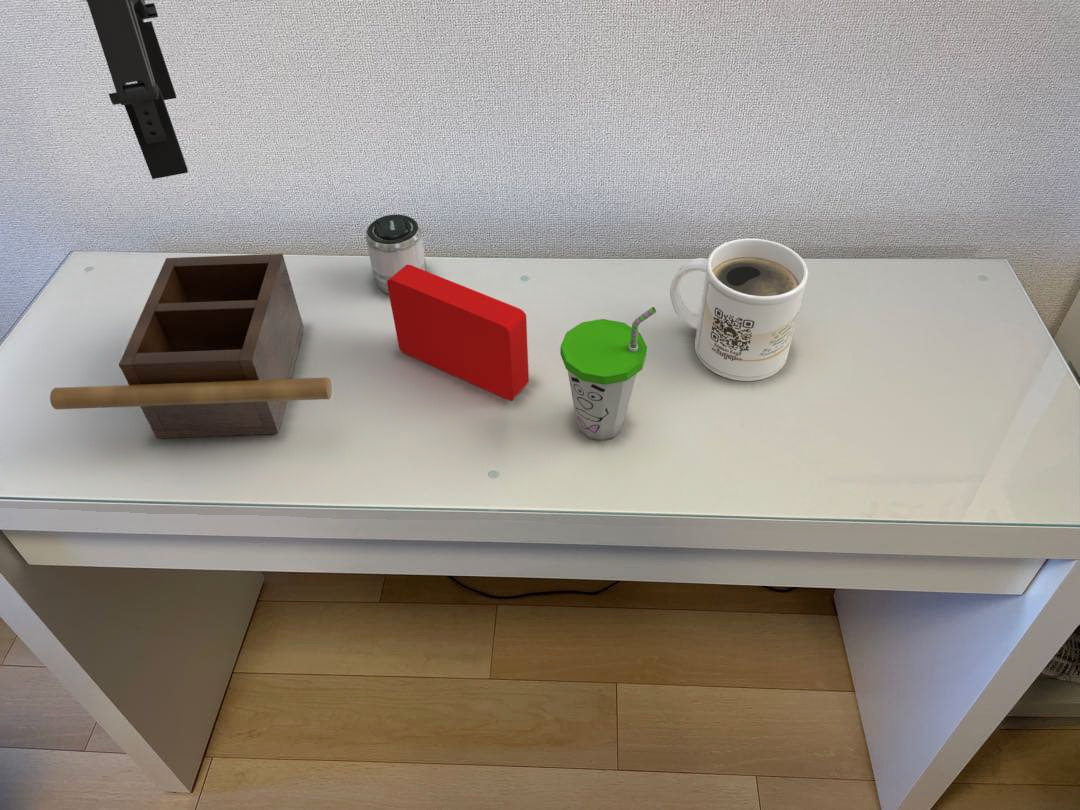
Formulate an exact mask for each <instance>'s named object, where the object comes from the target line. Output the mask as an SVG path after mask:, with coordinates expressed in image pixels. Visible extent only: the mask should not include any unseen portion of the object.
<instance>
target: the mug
mask: <svg viewBox="0 0 1080 810" xmlns="http://www.w3.org/2000/svg"><path fill="white" fill-rule="evenodd" d="M692 272H702V273H705V274H704V279H703V285H702V293H701V299H700V307H699V314H698V315H697V314H696V313H694V312H693V311H691V310H690V308H688V306H687V305H686V304H685V301H684V300H683V298H682V295H681V282H682V278H683V277H684V276H686V275H687V274H689V273H692ZM808 279H809V270H808V267H807V264H806V262H805V260H804V259H803V257H801V255H799V253H797V252H796V251H794V250H793V249H791V248H790V247H789V246H786V245H784V244H782V243H779V242H776V241H773V240H769V239H762V238H754V237H753V238H752V237H751V238H748V237H747V238H738V239H733V240H729V241H727V242H724V243H722V244H719V246H717V247H716V248H714V249H713V251H711V252H710V254H709V256H708V258H704V257H698V258H693V259H690V260H688V261H686V262H685V263H683V264H682V265H681V267H679V269H678V271H677V272H676V273H675V275H673V278H672V280H671V283H670V287H669V299H670V304H671V306H672V309H673V311H674V313H675V314H676V316H677V317H678V318H679V319H680V320H681V321H682V322H683V323H684V324H685V325H686V326H688V327H690V328H691V329H692V328H693V329H695V330H696V331H695V332H696V333H695V340H694V350H695V354H696V356H697V358H698V360H699V361H700V362H701V363H702V365H704V366H705V368H707V369H708V370H710V371H711V372H712V373H714V374H716V375H718V376H720V377H723V378H726V379H730V380H733V381H740V382H753V381H760V380H764V379H767V378H770V377H772V376H774V375H776V374H777V373H778V372H779V371H780V370H781V369H783V367H784V366H785V364H786V362H787V360H788V357H789V352H790V348H791V346H792V345H791V344H792V341H793V337H794V334H795V330H796V325H797V322H798V317H799V314H800V310H801V307H802V306H801V305H802V302H803V298H804V294H805V290H806V287H807V283H808Z"/></svg>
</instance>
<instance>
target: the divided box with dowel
mask: <svg viewBox="0 0 1080 810" xmlns="http://www.w3.org/2000/svg"><path fill="white" fill-rule="evenodd" d="M304 327H305V326H304V324H303V319H302V316H301V312H300V309H299V306H298V303H297V298H296V296H295V292H294V288H293V285H292V282H291V278H290V275H289V271H288V268H287V264H286V261H285V257H284V254H283V253H265V254H238V255H235V254H234V255H211V256H210V255H209V256H182V257H180V256H179V257H166V258H165V260H164V262H163V264H162V266H161V268H160V271H159V272H158V275H157V278H156V280H155V282H154V283H153V287H152V289H151V290H150V293H149V296H148V297H147V300H146V302H145V304H144V307H143V309H142V311H141V314H140V316H139V318H138V320H137V323H136V324H135V326H134V328H133V331H132V334H131V336H130V338H129V340H128V342H127V345H126V347H125V350H124V352H123V354H122V356H121V357H120V360H119V363H118V367H119V368H120V370H121V372H122V374H123V376H124V378H125V380H126V382H127V384H120V385H119V384H118V385H117V384H116V385H115V384H114V385H91V386H90V385H89V386H67V387H66V386H64V387H54V388H52V389H51V391H50V395H49V402H50V405H51V407H52V408H53V410H54V409H55V410H76V409H77V410H79V409H80V410H83V409H105V408H106V409H108V408H131V407H132V408H133V407H139V408H140V409H141V411H142V413H143V415H144V417H145V419H146V420H147V423H148V425H149V426H150V429H151V430H152V432H153V434H154V436H155V438H156V439H171V438H196V437H197V438H198V437H220V436H224V437H225V436H245V435H246V436H248V435H249V436H250V435H273V434H275V435H276V434H279V433H280V428H281V423H282V419H283V416H284V411H285V407H286V402H291V401H292V402H293V401H317V400H319V401H322V400H330V399H331V397H332V391H333V390H332V382H331V378H329V377H306V378H305V377H304V378H292V377H293V373H294V371H295V370H294V369H295V365H296V361H297V357H298V352H299V348H300V344H301V340H302V336H303V331H304Z"/></svg>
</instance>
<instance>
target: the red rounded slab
mask: <svg viewBox="0 0 1080 810" xmlns="http://www.w3.org/2000/svg"><path fill="white" fill-rule="evenodd" d="M387 286H388V291H389V294H388V296H389V301H390V308H391V312H392V317H393V323H394V329H395V335H396V339H397V344H398V349H399V350H400V351H401V352H402V353H404V354H405V355H407V356H409V357H411V358H414V359H416V360H418V361H420V362H422V363H425V364H427V365H428V366H432V367H433V368H436V369H438V370H440V371H442V372H445V373H447V374H449V375H451V376H453V377H456V378H458V379H460V380H463V381H464V382H466V383H469V384H470V385H474V386H476V387H478V388H480V389H482V390H484V391H487V392H488V393H491V394H493V395H496V396H498V397H500V398H502V399H505V400H507V401H513V400H514V399H515V398H516V397H517V396H518V395H519V393H520V392H521V391H522V390H523V389H524V388H525V387H526V386H527V385H528V384H529V382H530V375H529V353H528V352H529V351H528V349H529V347H528V327H527V326H528V325H527V324H528V323H527V313H526V312H525V311H523V309H521V308H519V307H518V306H515V305H512V304H510V303H507V302H504V301H502V300H499V299H497V298H494V297H491V296H490V295H488V294H484V293H482V292H479V291H477V290H474V289H473V288H470V287H467V286H464V285H462V284H460V283H457V282H455V281H452V280H449V279H447V278H445V277H442V276H439V275H437V274H434V273H432V272H429V271H427V270H426V271H424V270H422V269H419V268H417V267H414V266H412V265H405V266H404V267H403V268H402V269H401V270H399V271H398V272H397V273H396V274H395V275H393V276H392V277H391V278H390V279H389V280H387Z"/></svg>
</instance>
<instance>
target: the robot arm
mask: <svg viewBox="0 0 1080 810" xmlns="http://www.w3.org/2000/svg"><path fill="white" fill-rule="evenodd" d="M85 1H86V3H87V6H88V8H89V12H90V15H91V18H92V21H93V25H94V27H95V30H96V33H97V36H98V39H99V43H100V45H101V49H102V52H103V56H104V57H105V61H106V65H107V68H108V71H109V74H110V77H111V80H112V83H113V87H114V89H115V92H111V93H108V97H109V100H110V102H111V104H112V105H113V106H116V105H120V106H124V108H125V111H126V114H127V116H128V118H129V122H130V125H131V127H132V129H133V132H134V134H135V137H136V141H137V142H138V145H139V148H140V150H141V153H142V155H143V158H144V161H145V163H146V166H147V168H148V171H149V174H150V176H151V177H150V178H151V179H152V180H156V179H162V178H165V177H172V176H178V175H183V174H188V173H189V169H188V165H187V163H186V160H185V157H184V155H183V151H182V148H181V146H180V143H179V140H178V137H177V134H176V131H175V128H174V125H173V123H172V119H171V116H170V114H169V110H168V108H167V105H166V102H165V101H167V100H173V99H177V94H176V90H175V88H174V85H173V81H172V79H171V76H170V73H169V70H168V67H167V64H166V61H165V58H164V55H163V51H162V49H161V46H160V45H161V44H160V42H159V39H158V37H157V33H156V30H155V27H154V25H153V21H152V20H150V19H156V18H159V14H158V10H157V7H156V4H155V2H151V3H146V0H85ZM148 19H149V20H150V21H145V20H148Z"/></svg>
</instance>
